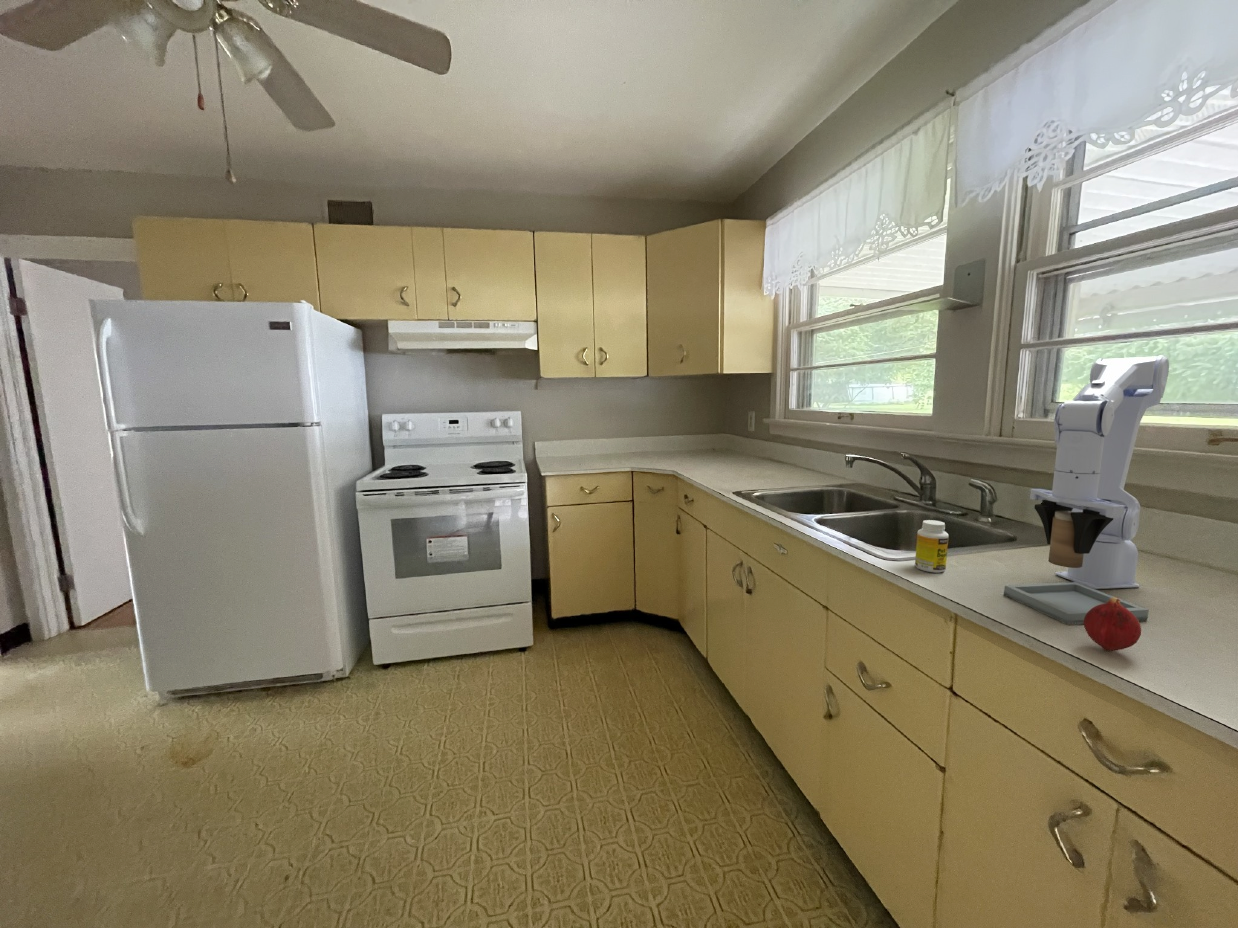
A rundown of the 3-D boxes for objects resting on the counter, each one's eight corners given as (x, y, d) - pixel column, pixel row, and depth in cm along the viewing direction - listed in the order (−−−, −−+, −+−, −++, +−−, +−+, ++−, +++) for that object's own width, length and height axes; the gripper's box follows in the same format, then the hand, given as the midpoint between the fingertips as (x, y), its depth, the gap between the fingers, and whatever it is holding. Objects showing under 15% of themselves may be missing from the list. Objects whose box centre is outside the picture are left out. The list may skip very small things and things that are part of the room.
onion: (1144, 666, 67) (1152, 610, 66) (1086, 654, 70) (1093, 601, 69) (1129, 647, 72) (1136, 595, 71) (1076, 637, 75) (1082, 587, 74)
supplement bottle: (938, 575, 100) (941, 527, 99) (909, 568, 105) (913, 521, 104) (950, 570, 104) (954, 522, 102) (922, 562, 108) (926, 517, 107)
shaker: (1064, 558, 88) (1070, 509, 87) (1089, 567, 84) (1095, 515, 83) (1041, 559, 88) (1046, 510, 87) (1065, 568, 84) (1070, 516, 82)
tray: (1074, 591, 92) (1075, 581, 92) (1147, 620, 80) (1148, 609, 80) (1003, 594, 91) (1004, 585, 91) (1067, 624, 79) (1068, 613, 79)
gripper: (1017, 465, 91) (1010, 537, 93) (1098, 479, 76) (1088, 563, 78) (1053, 465, 91) (1045, 536, 93) (1140, 478, 77) (1129, 561, 79)
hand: (1067, 548), depth 86 cm, fingers closed on shaker, 4 cm apart
